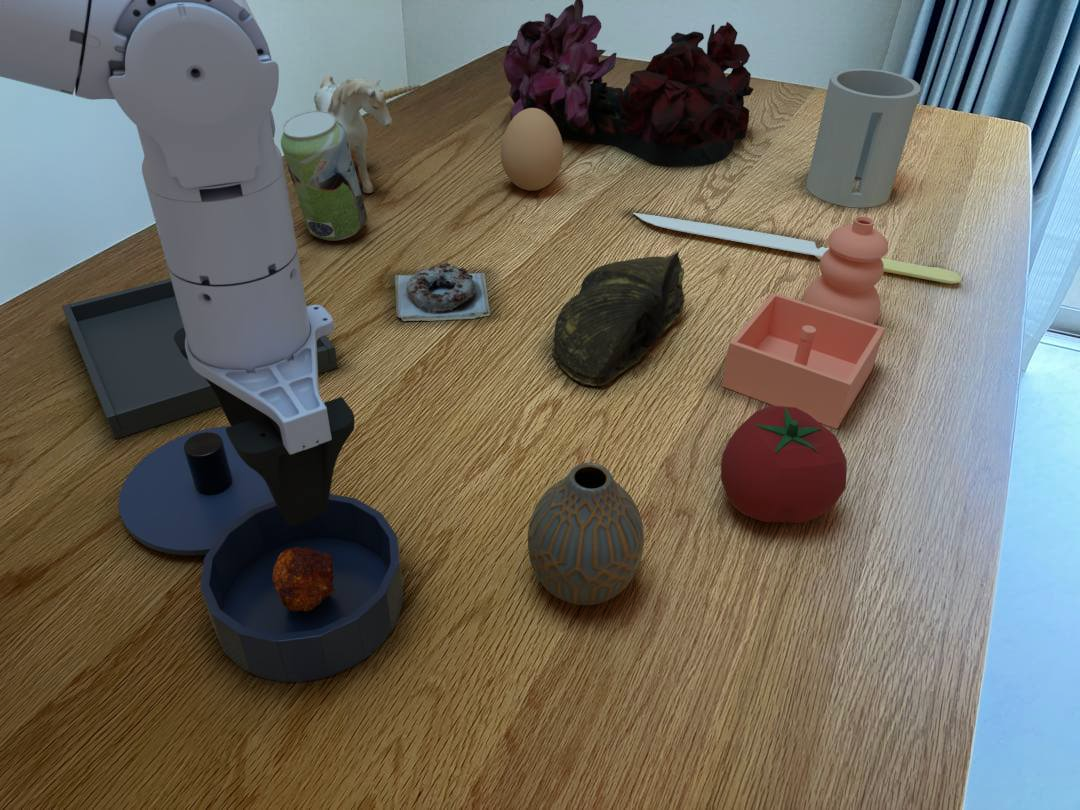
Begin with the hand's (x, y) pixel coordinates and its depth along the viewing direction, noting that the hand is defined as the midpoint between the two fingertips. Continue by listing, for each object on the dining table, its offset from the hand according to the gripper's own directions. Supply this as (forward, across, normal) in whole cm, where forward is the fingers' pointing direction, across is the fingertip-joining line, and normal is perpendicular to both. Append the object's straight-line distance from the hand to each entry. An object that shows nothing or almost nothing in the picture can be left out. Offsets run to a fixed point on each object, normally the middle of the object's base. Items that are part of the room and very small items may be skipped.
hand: (280, 472), depth 49 cm
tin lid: (+8, +10, +2) cm, 13 cm away
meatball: (+9, -2, 0) cm, 9 cm away
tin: (+9, -2, 0) cm, 9 cm away
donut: (+9, +25, -23) cm, 35 cm away
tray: (+9, +28, -2) cm, 30 cm away
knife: (+9, +16, -57) cm, 60 cm away
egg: (+9, +40, -42) cm, 59 cm away
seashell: (+9, +12, -33) cm, 36 cm away
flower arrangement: (+9, +48, -60) cm, 77 cm away
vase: (+9, -9, -15) cm, 20 cm away
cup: (+9, +22, -73) cm, 77 cm away
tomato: (+9, -10, -30) cm, 33 cm away
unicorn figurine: (+9, +50, -28) cm, 58 cm away
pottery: (+9, +1, -46) cm, 47 cm away
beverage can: (+9, +41, -19) cm, 46 cm away
